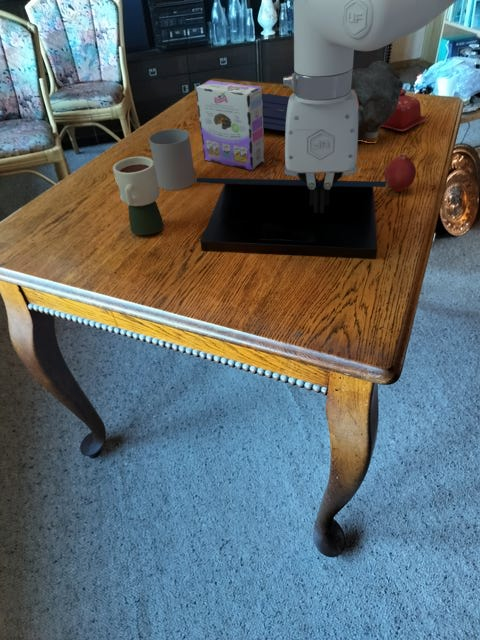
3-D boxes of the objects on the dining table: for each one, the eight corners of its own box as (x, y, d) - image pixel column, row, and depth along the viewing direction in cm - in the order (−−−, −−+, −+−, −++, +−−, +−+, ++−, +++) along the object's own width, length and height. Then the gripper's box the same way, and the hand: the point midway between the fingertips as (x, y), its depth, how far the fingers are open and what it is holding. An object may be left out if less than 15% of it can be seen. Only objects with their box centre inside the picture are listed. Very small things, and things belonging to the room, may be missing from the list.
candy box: (265, 161, 108) (263, 85, 97) (252, 171, 105) (248, 94, 94) (217, 151, 114) (210, 78, 103) (203, 160, 111) (194, 86, 100)
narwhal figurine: (389, 158, 106) (403, 71, 93) (322, 152, 110) (327, 68, 98) (395, 133, 115) (409, 52, 103) (334, 129, 120) (339, 51, 107)
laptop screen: (385, 187, 71) (386, 181, 71) (196, 183, 77) (196, 177, 76) (373, 186, 92) (373, 181, 92) (224, 182, 97) (224, 178, 97)
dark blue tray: (233, 99, 138) (234, 86, 136) (334, 114, 134) (337, 101, 131) (210, 130, 121) (210, 116, 118) (325, 149, 117) (327, 134, 114)
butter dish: (363, 126, 120) (367, 90, 114) (389, 113, 126) (394, 79, 120) (402, 137, 114) (408, 100, 108) (428, 123, 119) (435, 87, 113)
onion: (385, 183, 97) (391, 145, 92) (413, 186, 95) (421, 148, 90) (379, 196, 93) (385, 157, 88) (409, 200, 91) (417, 160, 86)
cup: (176, 194, 99) (169, 147, 92) (149, 184, 103) (140, 139, 96) (202, 178, 104) (197, 133, 97) (175, 170, 108) (168, 126, 101)
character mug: (138, 215, 94) (123, 151, 85) (172, 215, 93) (160, 151, 84) (121, 245, 86) (102, 179, 77) (159, 246, 85) (144, 179, 76)
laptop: (375, 259, 78) (377, 248, 76) (201, 250, 83) (200, 240, 81) (372, 195, 94) (373, 185, 92) (225, 191, 99) (224, 182, 97)
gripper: (263, 95, 60) (269, 221, 73) (383, 90, 58) (369, 220, 70) (269, 79, 66) (274, 198, 78) (378, 73, 64) (366, 197, 76)
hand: (319, 208), depth 74 cm, fingers closed
